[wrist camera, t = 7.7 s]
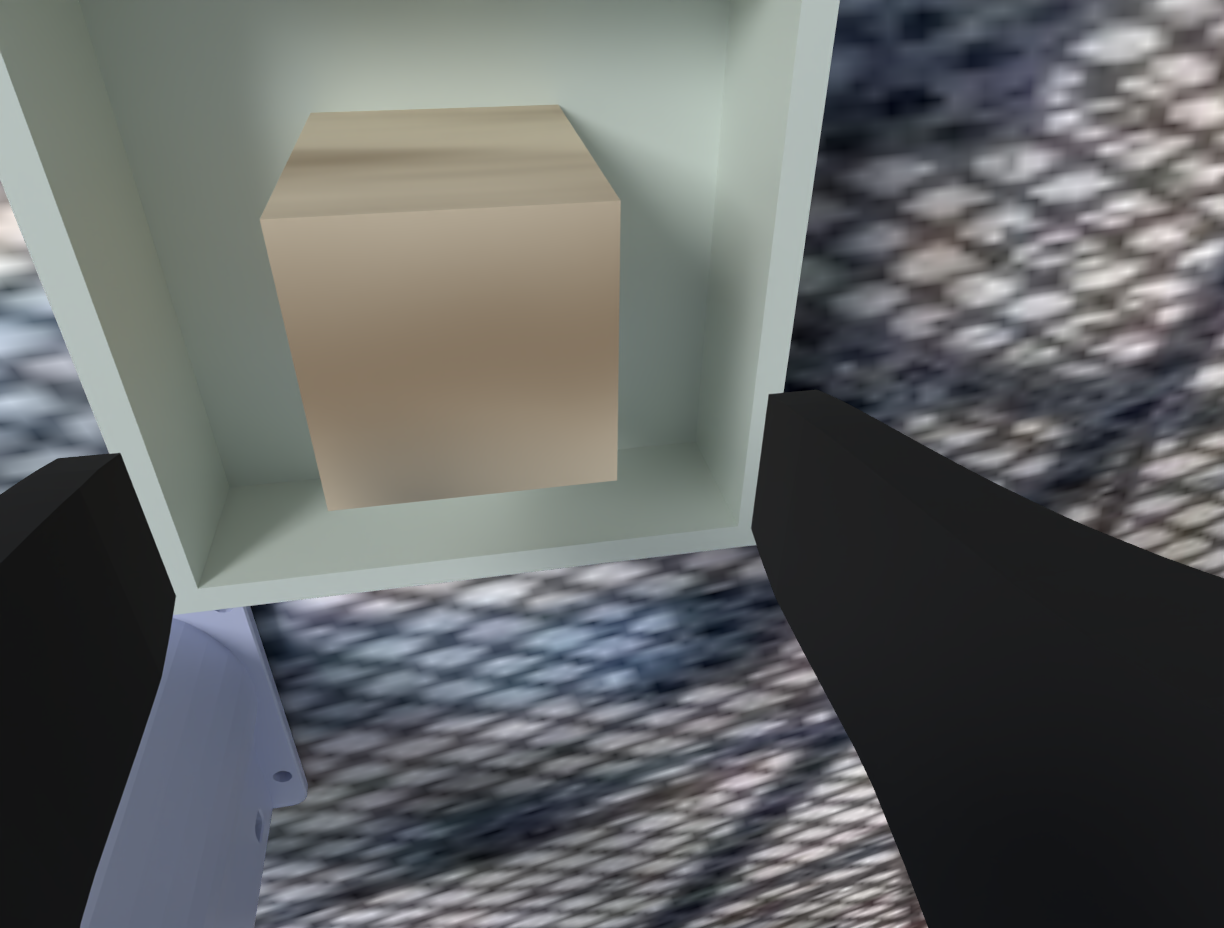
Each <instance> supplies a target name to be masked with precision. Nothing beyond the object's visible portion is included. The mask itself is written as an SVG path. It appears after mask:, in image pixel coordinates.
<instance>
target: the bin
mask: <svg viewBox="0 0 1224 928" xmlns="http://www.w3.org/2000/svg"><path fill="white" fill-rule="evenodd" d="M839 3H840V0H0V180H1V183H2V185H3V188H4V190H5V193H6V195H7V198H8V200H9V203H10V206H11V208H12V211H13V213H14V216H15V218H16V221H17V223H18V226H19V228H20V231H21V233H22V236H23V238H24V241H25V243H26V246H27V248H28V251H29V253H30V256H31V258H32V261H33V263H34V266H35V268H36V271H37V273H38V276H39V278H40V281H41V283H42V286H43V288H44V291H45V293H46V296H47V298H48V301H49V303H50V306H51V308H52V311H53V313H54V316H55V318H56V321H57V323H58V326H59V328H60V331H61V333H62V336H63V338H64V341H65V343H66V346H67V348H68V351H69V353H70V356H71V358H72V361H73V363H74V366H75V368H76V371H77V373H78V376H79V378H80V381H81V383H82V386H83V388H84V391H85V393H86V396H87V398H88V401H89V403H90V406H91V408H92V411H93V414H94V416H95V419H96V421H97V424H98V426H99V429H100V431H101V434H102V436H103V439H104V441H105V444H106V446H107V449H108V451H109V454H112V453H121V456H122V458H123V461H124V463H125V466H126V469H127V471H128V474H129V476H130V479H131V481H132V484H133V487H134V489H135V492H136V494H137V497H138V499H139V502H140V505H141V507H142V510H143V512H144V515H145V517H146V520H147V522H148V525H149V528H150V530H151V533H152V535H153V538H154V540H155V543H156V546H157V548H158V551H159V553H160V556H161V558H162V561H163V564H164V566H165V569H166V571H167V574H168V576H169V579H170V582H171V584H172V587H173V589H174V592H175V594H176V599H175V606H174V612H173V614H174V615H178V614H186V613H194V612H202V611H211V610H219V609H227V608H236V607H244V606H252V605H261V604H269V603H277V602H286V601H294V600H302V599H311V598H319V597H327V596H336V595H344V594H352V593H361V592H369V591H377V590H386V589H394V588H402V587H411V586H419V585H427V584H436V583H444V582H452V581H461V580H469V579H477V578H486V577H494V576H502V575H511V574H519V573H527V572H536V571H544V570H552V569H561V568H569V567H577V566H585V565H594V564H602V563H610V562H619V561H627V560H635V559H644V558H652V557H660V556H669V555H677V554H685V553H694V552H702V551H710V550H719V549H727V548H735V547H744V546H752V545H756V542H755V539H754V536H753V533H752V530H751V524H752V516H753V509H754V501H755V494H756V486H757V479H758V471H759V463H760V456H761V448H762V441H763V433H764V425H765V418H766V410H767V403H768V395H769V394H775V393H783V392H784V385H785V378H786V371H787V364H788V357H789V350H790V343H791V337H792V330H793V323H794V316H795V309H796V302H797V295H798V288H799V281H800V274H801V267H802V260H803V253H804V246H805V239H806V232H807V225H808V218H809V211H810V204H811V197H812V190H813V183H814V176H815V170H816V163H817V156H818V149H819V142H820V135H821V128H822V121H823V114H824V107H825V100H826V93H827V86H828V79H829V72H830V65H831V58H832V51H833V44H834V37H835V30H836V23H837V16H838V9H839ZM531 105H559V106H560V108H561V110H562V111H563V113H564V114H565V116H566V117H567V119H568V120H569V122H570V123H571V125H572V127H573V128H574V130H575V131H576V133H577V134H578V136H579V137H580V139H581V140H582V142H583V143H584V145H585V147H586V148H587V150H588V151H589V153H590V154H591V156H592V157H593V159H594V160H595V162H596V163H597V165H598V167H599V168H600V170H601V171H602V173H603V174H604V176H605V177H606V179H607V180H608V182H609V183H610V185H611V187H612V188H613V190H614V191H615V193H616V194H617V196H618V197H619V199H620V200H621V214H620V294H619V373H618V452H617V481H607V482H598V483H588V484H579V485H570V486H560V487H551V488H541V489H532V490H522V491H513V492H504V493H494V494H485V495H475V496H466V497H457V498H447V499H438V500H428V501H419V502H409V503H400V504H391V505H381V506H372V507H362V508H353V509H344V510H334V511H328V509H327V504H326V500H325V496H324V492H323V487H322V483H321V479H320V475H319V470H318V466H317V462H316V458H315V453H314V449H313V445H312V441H311V436H310V432H309V428H308V424H307V419H306V415H305V411H304V407H303V402H302V398H301V394H300V389H299V385H298V381H297V377H296V372H295V368H294V364H293V360H292V355H291V351H290V347H289V343H288V338H287V334H286V330H285V326H284V321H283V317H282V313H281V309H280V304H279V300H278V296H277V292H276V287H275V283H274V279H273V274H272V270H271V266H270V262H269V257H268V253H267V249H266V245H265V240H264V236H263V232H262V228H261V223H260V218H261V215H262V213H263V211H264V209H265V207H266V205H267V203H268V201H269V199H270V197H271V195H272V192H273V190H274V188H275V186H276V184H277V182H278V180H279V178H280V176H281V174H282V172H283V169H284V167H285V165H286V163H287V161H288V159H289V157H290V155H291V153H292V151H293V149H294V146H295V144H296V142H297V140H298V138H299V136H300V134H301V132H302V130H303V128H304V125H305V123H306V121H307V119H308V117H309V115H310V113H318V112H349V111H379V110H409V109H440V108H470V107H500V106H531Z"/></svg>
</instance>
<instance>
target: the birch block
mask: <svg viewBox="0 0 1224 928" xmlns="http://www.w3.org/2000/svg"><path fill="white" fill-rule="evenodd" d="M620 214H621V200H620V199H619V197H618V196H617V194H616V193H615V191H614V190H613V188H612V187H611V185H610V183H609V182H608V180H607V179H606V177H605V176H604V174H603V173H602V171H601V170H600V168H599V167H598V165H597V163H596V162H595V160H594V159H593V157H592V156H591V154H590V153H589V151H588V150H587V148H586V147H585V145H584V143H583V142H582V140H581V139H580V137H579V136H578V134H577V133H576V131H575V130H574V128H573V127H572V125H571V123H570V122H569V120H568V119H567V117H566V116H565V114H564V113H563V111H562V110H561V108H560V106H559V105H531V106H500V107H470V108H440V109H409V110H379V111H349V112H318V113H310V115H309V117H308V119H307V121H306V123H305V125H304V128H303V130H302V132H301V134H300V136H299V138H298V140H297V142H296V144H295V146H294V149H293V151H292V153H291V155H290V157H289V159H288V161H287V163H286V165H285V167H284V169H283V172H282V174H281V176H280V178H279V180H278V182H277V184H276V186H275V188H274V190H273V192H272V195H271V197H270V199H269V201H268V203H267V205H266V207H265V209H264V211H263V213H262V215H261V218H260V223H261V228H262V232H263V236H264V240H265V245H266V249H267V253H268V257H269V262H270V266H271V270H272V274H273V279H274V283H275V287H276V292H277V296H278V300H279V304H280V309H281V313H282V317H283V321H284V326H285V330H286V334H287V338H288V343H289V347H290V351H291V355H292V360H293V364H294V368H295V372H296V377H297V381H298V385H299V389H300V394H301V398H302V402H303V407H304V411H305V415H306V419H307V424H308V428H309V432H310V436H311V441H312V445H313V449H314V453H315V458H316V462H317V466H318V470H319V475H320V479H321V483H322V487H323V492H324V496H325V500H326V504H327V509H328V511H334V510H344V509H353V508H362V507H372V506H381V505H391V504H400V503H409V502H419V501H428V500H438V499H447V498H457V497H466V496H475V495H485V494H494V493H504V492H513V491H522V490H532V489H541V488H551V487H560V486H570V485H579V484H588V483H598V482H607V481H617V452H618V373H619V294H620Z"/></svg>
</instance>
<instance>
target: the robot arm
mask: <svg viewBox="0 0 1224 928" xmlns="http://www.w3.org/2000/svg"><path fill="white" fill-rule="evenodd" d="M751 530H752V533H753V536H754V539H755V542H756V545H757V548H758V551H759V554H760V557H761V560H762V563H763V565H764V568H765V571H766V573H767V576H768V579H769V581H770V584H771V587H772V589H773V592H774V595H775V597H776V599H777V601H778V603H779V605H780V607H781V609H782V611H783V613H784V615H785V617H786V619H787V621H788V623H789V625H790V627H791V629H792V631H793V632H794V634H795V636H796V638H797V640H798V642H799V644H800V646H801V648H802V650H803V652H804V654H805V655H806V657H807V659H808V661H809V663H810V665H811V667H812V669H813V670H814V672H815V674H816V676H817V678H818V680H819V682H820V684H821V686H822V687H823V689H824V691H825V693H826V695H827V697H828V699H829V701H830V702H831V704H832V706H833V708H834V710H835V712H836V714H837V716H838V718H839V719H840V721H841V723H842V725H843V727H844V729H845V731H846V733H847V734H848V736H849V738H850V740H851V742H852V744H853V746H854V748H855V750H856V752H857V754H858V756H859V758H860V760H861V762H862V764H863V766H864V768H865V771H866V773H867V775H868V777H869V779H870V781H871V783H872V785H873V788H874V790H875V793H876V795H877V797H878V800H879V802H880V805H881V807H882V810H883V812H884V815H885V817H886V820H887V822H888V825H889V827H890V830H891V832H892V835H893V837H894V840H895V842H896V845H897V847H898V849H899V852H900V854H901V857H902V859H903V862H904V864H905V867H906V870H907V872H908V875H909V878H910V880H911V883H912V886H913V888H914V891H915V893H916V896H917V899H918V901H919V904H920V907H921V909H922V912H923V915H924V917H925V920H926V923H927V925H928V928H1224V578H1221V577H1218V576H1215V575H1212V574H1209V573H1206V572H1203V571H1200V570H1198V569H1195V568H1192V567H1189V566H1186V565H1184V564H1181V563H1178V562H1175V561H1173V560H1170V559H1167V558H1164V557H1162V556H1159V555H1157V554H1154V553H1152V552H1149V551H1147V550H1144V549H1142V548H1139V547H1137V546H1134V545H1132V544H1129V543H1127V542H1124V541H1122V540H1119V539H1117V538H1114V537H1112V536H1109V535H1107V534H1104V533H1102V532H1099V531H1097V530H1094V529H1092V528H1090V527H1087V526H1085V525H1083V524H1080V523H1078V522H1076V521H1074V520H1071V519H1069V518H1067V517H1064V516H1062V515H1060V514H1058V513H1056V512H1054V511H1051V510H1049V509H1047V508H1045V507H1043V506H1041V505H1039V504H1037V503H1035V502H1033V501H1031V500H1029V499H1026V498H1024V497H1022V496H1020V495H1018V494H1016V493H1014V492H1012V491H1010V490H1008V489H1006V488H1004V487H1001V486H999V485H998V484H996V483H994V482H992V481H990V480H988V479H986V478H984V477H982V476H980V475H978V474H976V473H974V472H972V471H970V470H968V469H966V468H965V467H963V466H961V465H959V464H957V463H955V462H953V461H951V460H950V459H948V458H946V457H944V456H942V455H940V454H938V453H937V452H935V451H933V450H931V449H929V448H927V447H926V446H924V445H922V444H920V443H918V442H917V441H915V440H913V439H911V438H909V437H907V436H906V435H904V434H902V433H900V432H898V431H897V430H895V429H893V428H891V427H889V426H888V425H886V424H884V423H882V422H880V421H879V420H877V419H875V418H873V417H871V416H869V415H868V414H866V413H864V412H862V411H860V410H858V409H856V408H855V407H853V406H851V405H849V404H847V403H845V402H843V401H841V400H839V399H837V398H835V397H833V396H831V395H828V394H826V393H824V392H821V391H819V390H808V391H797V392H786V393H775V394H769V395H768V403H767V410H766V418H765V425H764V433H763V441H762V448H761V456H760V463H759V471H758V479H757V486H756V494H755V501H754V509H753V516H752V524H751ZM175 599H176V594H175V592H174V589H173V587H172V584H171V582H170V579H169V576H168V574H167V571H166V569H165V566H164V564H163V561H162V558H161V556H160V553H159V551H158V548H157V546H156V543H155V540H154V538H153V535H152V533H151V530H150V528H149V525H148V522H147V520H146V517H145V515H144V512H143V510H142V507H141V505H140V502H139V499H138V497H137V494H136V492H135V489H134V487H133V484H132V481H131V479H130V476H129V474H128V471H127V469H126V466H125V463H124V461H123V458H122V456H121V453H112V454H101V455H90V456H79V457H68V458H58V459H56V460H54V461H53V462H51V463H49V464H47V465H45V466H44V467H42V468H40V469H39V470H37V471H35V472H34V473H32V474H31V475H29V476H27V477H26V478H24V479H23V480H21V481H20V482H18V483H17V484H15V485H14V486H12V487H11V488H9V489H8V490H7V491H5V492H4V493H2V494H1V495H0V928H254V924H255V918H256V912H257V905H258V899H259V893H260V886H261V880H262V873H263V867H264V861H265V854H266V848H267V842H268V835H269V829H270V823H271V816H272V810H273V809H274V808H280V807H286V806H293V805H296V804H299V803H301V802H302V801H304V800H305V798H306V797H307V791H308V783H307V780H306V777H305V774H304V771H303V768H302V764H301V761H300V758H299V755H298V752H297V749H296V746H295V743H294V740H293V737H292V734H291V731H290V727H289V724H288V721H287V718H286V715H285V712H284V709H283V706H282V703H281V700H280V697H279V694H278V691H277V687H276V684H275V681H274V678H273V675H272V672H271V669H270V666H269V663H268V660H267V657H266V654H265V650H264V647H263V644H262V641H261V638H260V635H259V632H258V629H257V626H256V623H255V620H254V617H253V614H252V610H251V607H250V606H244V607H236V608H227V609H219V610H211V611H202V612H194V613H186V614H178V615H174V614H173V612H174V606H175Z"/></svg>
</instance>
